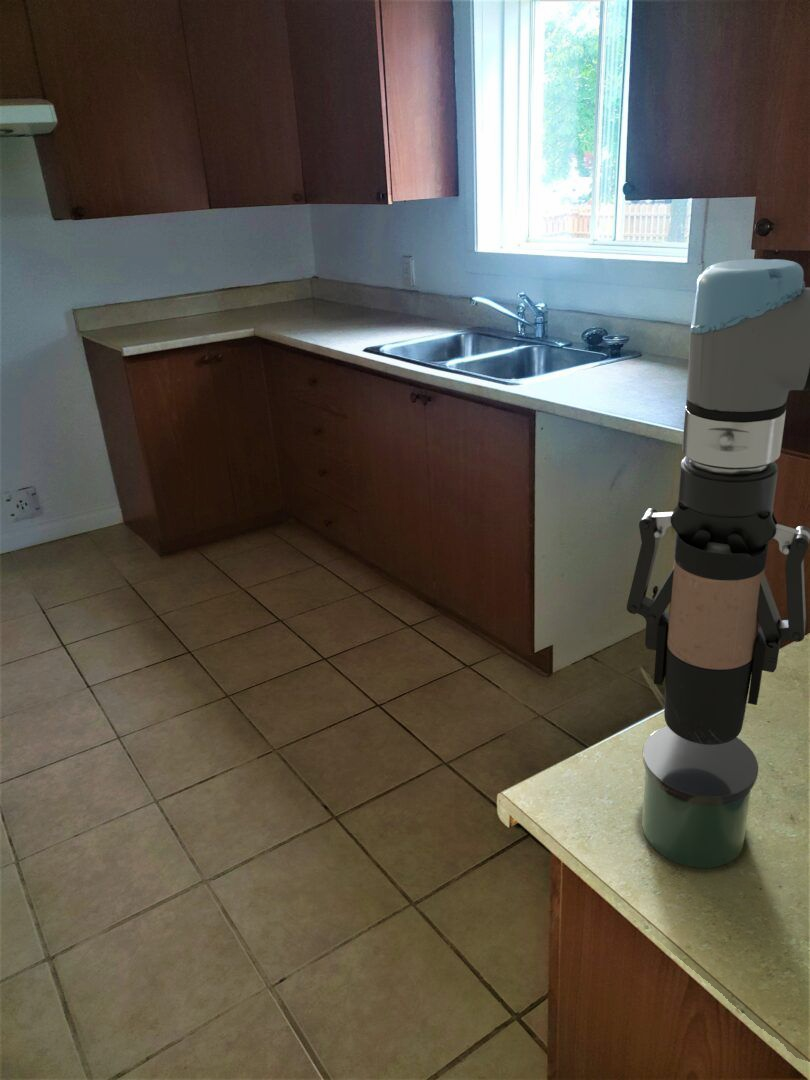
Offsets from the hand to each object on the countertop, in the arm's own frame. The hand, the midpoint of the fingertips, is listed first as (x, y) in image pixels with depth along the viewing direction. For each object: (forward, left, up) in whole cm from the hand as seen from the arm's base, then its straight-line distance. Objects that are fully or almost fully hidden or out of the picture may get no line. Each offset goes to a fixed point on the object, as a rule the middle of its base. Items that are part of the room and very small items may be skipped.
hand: (706, 685), depth 77 cm
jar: (0, 0, -18) cm, 18 cm away
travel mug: (0, 0, -4) cm, 4 cm away
